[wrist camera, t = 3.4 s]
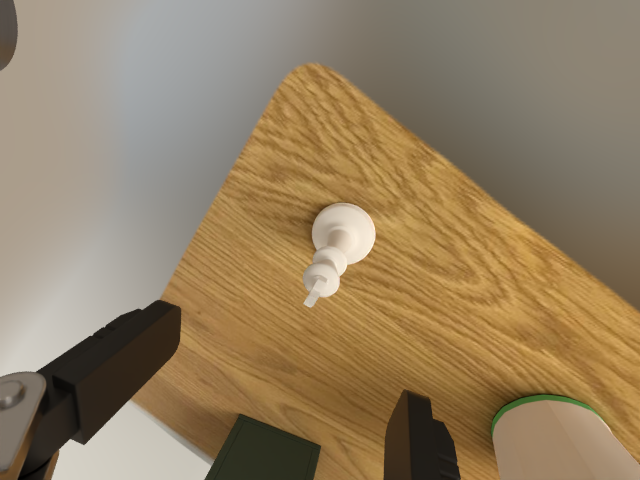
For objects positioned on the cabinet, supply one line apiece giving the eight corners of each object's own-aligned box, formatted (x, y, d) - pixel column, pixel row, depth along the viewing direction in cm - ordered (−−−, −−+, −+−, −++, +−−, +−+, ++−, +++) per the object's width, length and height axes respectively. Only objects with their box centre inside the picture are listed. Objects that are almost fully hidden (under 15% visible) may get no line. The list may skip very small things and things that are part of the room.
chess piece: (387, 223, 22) (384, 288, 13) (355, 273, 24) (332, 360, 15) (330, 190, 22) (286, 232, 13) (302, 242, 24) (248, 310, 15)
